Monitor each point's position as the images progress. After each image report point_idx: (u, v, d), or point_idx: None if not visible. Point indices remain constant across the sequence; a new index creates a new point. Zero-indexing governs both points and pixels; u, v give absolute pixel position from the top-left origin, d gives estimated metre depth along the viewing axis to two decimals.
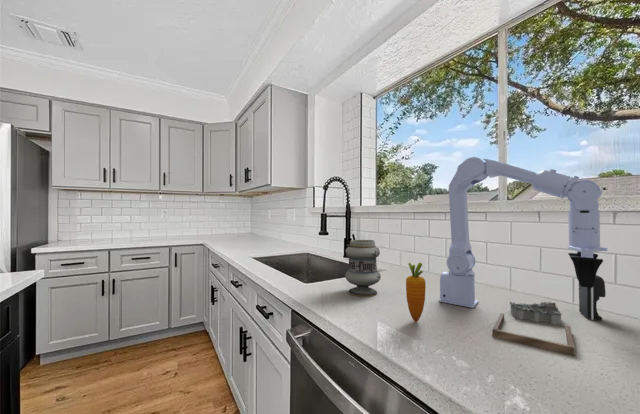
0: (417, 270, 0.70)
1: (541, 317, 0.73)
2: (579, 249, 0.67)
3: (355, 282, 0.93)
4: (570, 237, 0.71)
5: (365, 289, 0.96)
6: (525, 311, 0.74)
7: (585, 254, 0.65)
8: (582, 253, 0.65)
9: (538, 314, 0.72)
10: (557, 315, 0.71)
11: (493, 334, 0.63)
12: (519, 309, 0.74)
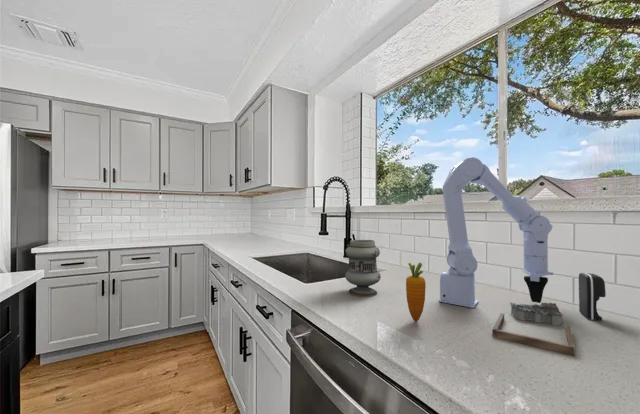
0: (417, 270, 0.70)
1: (542, 317, 0.72)
2: (529, 274, 0.81)
3: (355, 282, 0.93)
4: (524, 262, 0.85)
5: (365, 289, 0.96)
6: (526, 312, 0.74)
7: (533, 278, 0.79)
8: (531, 277, 0.79)
9: (539, 315, 0.72)
10: (558, 316, 0.71)
11: (493, 334, 0.63)
12: (520, 310, 0.74)
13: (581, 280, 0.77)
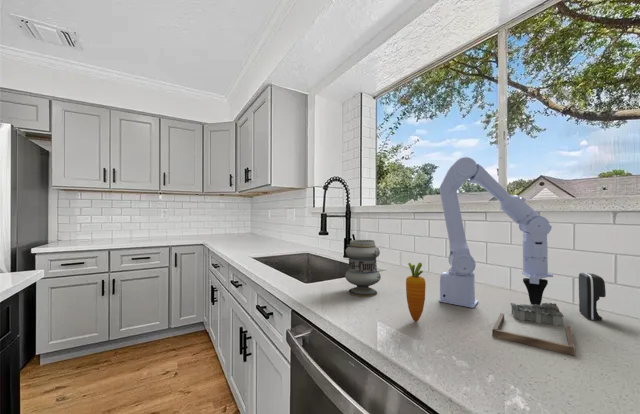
0: (417, 270, 0.70)
1: (543, 318, 0.72)
2: (528, 276, 0.78)
3: (355, 282, 0.93)
4: (523, 264, 0.82)
5: (365, 289, 0.96)
6: (526, 312, 0.74)
7: (532, 281, 0.76)
8: (530, 280, 0.77)
9: (540, 315, 0.71)
10: (559, 316, 0.70)
11: (493, 334, 0.63)
12: (520, 310, 0.73)
13: (581, 280, 0.77)
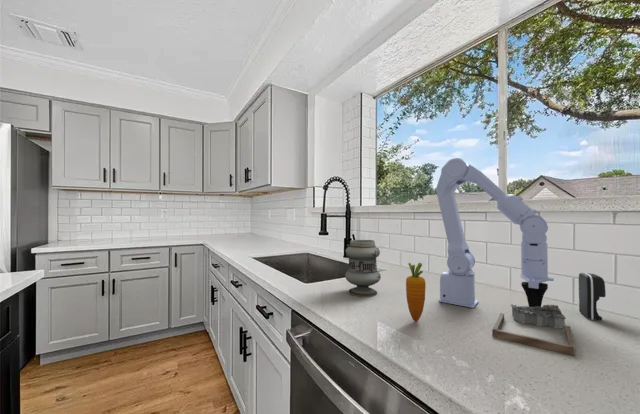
0: (417, 270, 0.70)
1: (544, 320, 0.70)
2: (527, 280, 0.73)
3: (355, 282, 0.93)
4: (522, 267, 0.78)
5: (365, 289, 0.96)
6: (527, 314, 0.72)
7: (531, 285, 0.71)
8: (529, 284, 0.72)
9: (541, 317, 0.70)
10: (561, 319, 0.68)
11: (493, 334, 0.63)
12: (521, 312, 0.72)
13: (581, 280, 0.77)
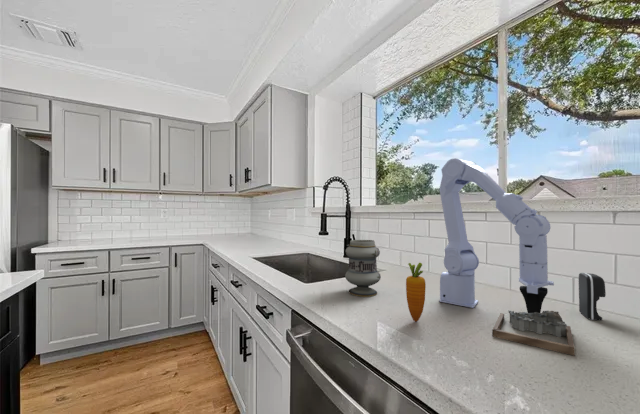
0: (417, 270, 0.70)
1: (544, 328, 0.65)
2: (526, 284, 0.68)
3: (355, 282, 0.93)
4: (520, 270, 0.73)
5: (365, 289, 0.96)
6: (526, 321, 0.67)
7: (530, 290, 0.67)
8: (528, 289, 0.67)
9: (541, 325, 0.65)
10: (562, 326, 0.64)
11: (493, 334, 0.63)
12: (520, 319, 0.67)
13: (581, 280, 0.77)
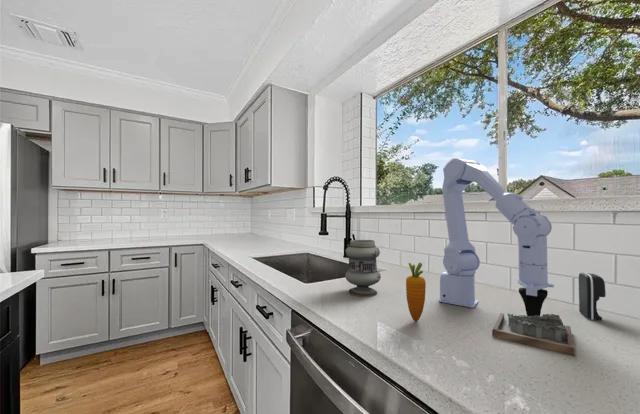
0: (417, 270, 0.70)
1: (544, 332, 0.63)
2: (525, 286, 0.67)
3: (355, 282, 0.93)
4: (519, 271, 0.71)
5: (365, 289, 0.96)
6: (525, 325, 0.65)
7: (529, 292, 0.65)
8: (527, 291, 0.65)
9: (540, 329, 0.63)
10: (562, 330, 0.62)
11: (493, 334, 0.63)
12: (518, 323, 0.65)
13: (581, 280, 0.77)
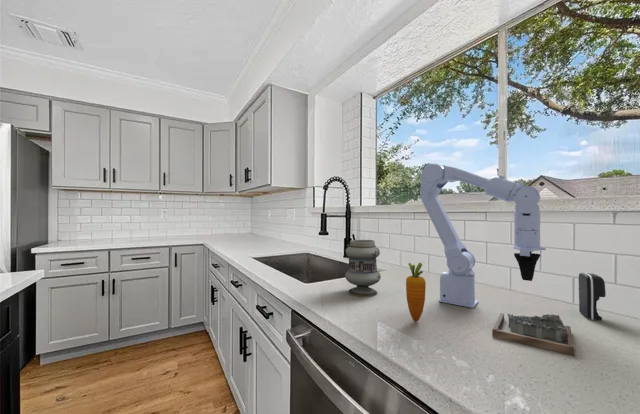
0: (417, 270, 0.70)
1: (544, 332, 0.63)
2: (519, 248, 0.74)
3: (355, 282, 0.93)
4: (515, 237, 0.79)
5: (365, 289, 0.96)
6: (525, 325, 0.65)
7: (523, 253, 0.72)
8: (520, 252, 0.73)
9: (540, 329, 0.63)
10: (562, 331, 0.61)
11: (493, 334, 0.63)
12: (518, 323, 0.65)
13: (581, 280, 0.77)
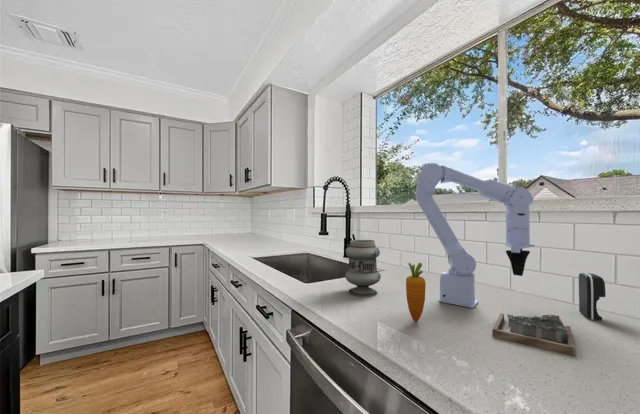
0: (417, 270, 0.70)
1: (544, 333, 0.63)
2: (510, 246, 0.80)
3: (355, 282, 0.93)
4: (506, 236, 0.85)
5: (365, 289, 0.96)
6: (525, 326, 0.64)
7: (514, 250, 0.78)
8: (512, 249, 0.79)
9: (540, 330, 0.62)
10: (562, 331, 0.61)
11: (493, 334, 0.63)
12: (518, 324, 0.64)
13: (581, 280, 0.77)
